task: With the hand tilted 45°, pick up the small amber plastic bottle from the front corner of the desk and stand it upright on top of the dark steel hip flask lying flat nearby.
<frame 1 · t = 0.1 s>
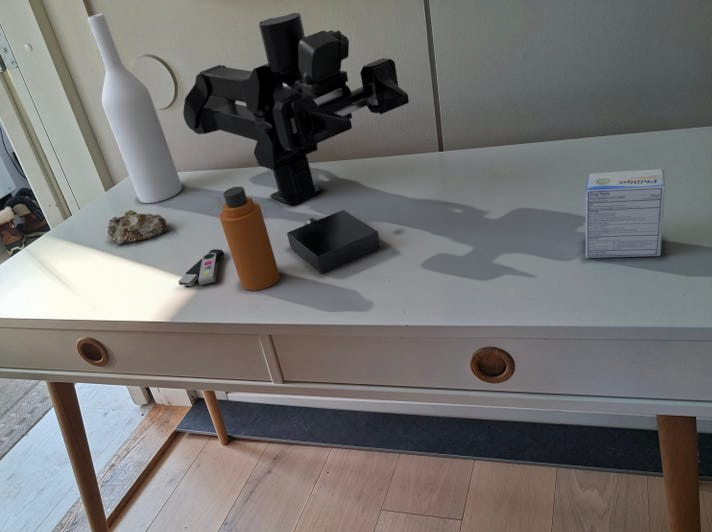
hand: (379, 111, 86), 17 cm above the table, tool horizontal, fingers open, 9 cm apart
medicine box: (622, 250, 81), on the table
usb flash drive: (211, 272, 98), on the table
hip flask: (334, 249, 96), on the table
amber bottle: (260, 280, 93), on the table
mineral rock: (139, 234, 114), on the table
bottle: (161, 194, 128), on the table
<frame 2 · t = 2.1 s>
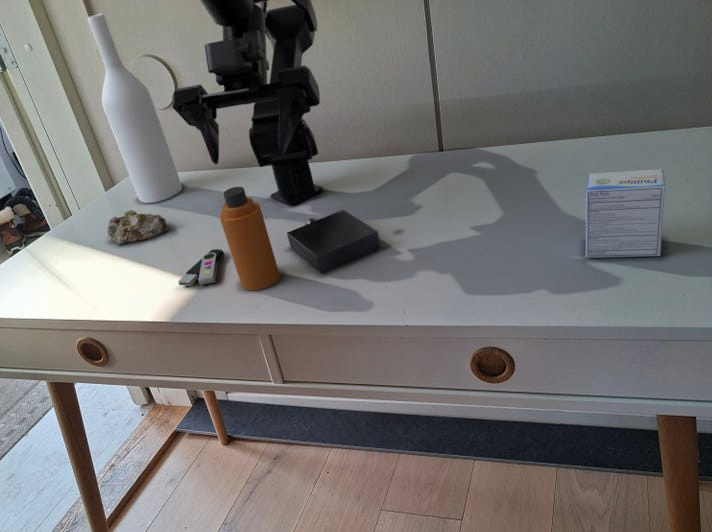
hand: (247, 157, 91), 14 cm above the table, tool tilted 45°, fingers open, 9 cm apart
nothing on the table moved.
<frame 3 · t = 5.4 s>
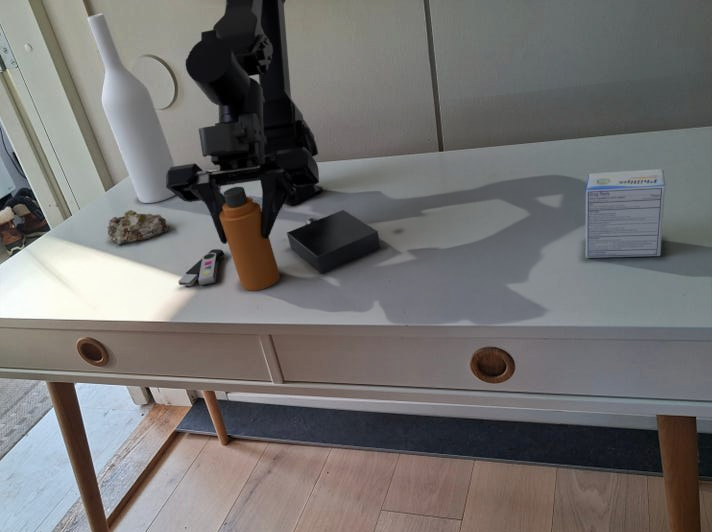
hand: (244, 240, 88), 7 cm above the table, tool tilted 45°, fingers closed on amber bottle, 5 cm apart
amber bottle: (260, 280, 93), on the table, touching gripper
everything else where it was.
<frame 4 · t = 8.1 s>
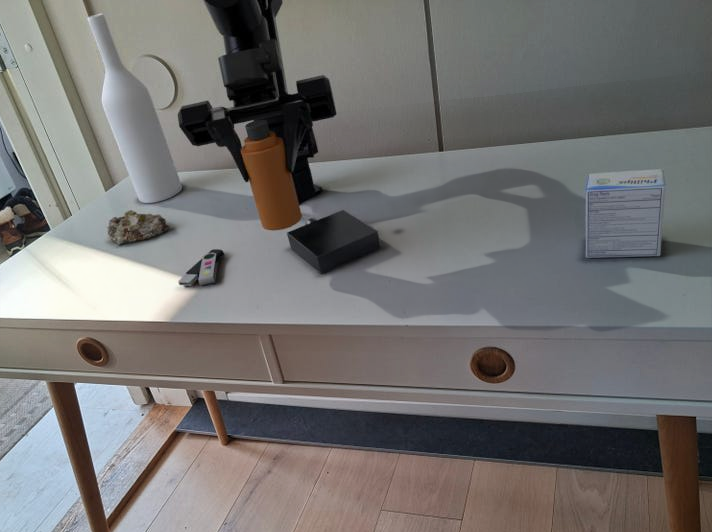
hand: (268, 176, 85), 13 cm above the table, tool tilted 45°, fingers closed on amber bottle, 5 cm apart
amber bottle: (282, 220, 90), point 7 cm above the table, touching gripper
everything else where it was.
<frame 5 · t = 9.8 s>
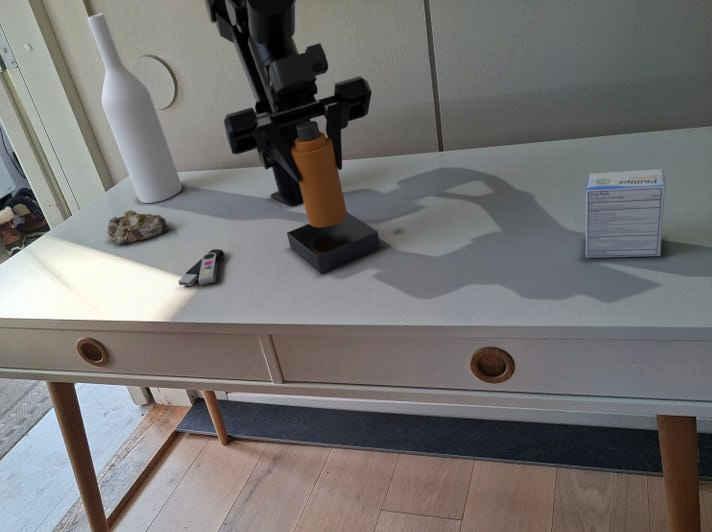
hand: (319, 174, 88), 11 cm above the table, tool tilted 45°, fingers closed on amber bottle, 5 cm apart
amber bottle: (327, 218, 93), point 5 cm above the table, touching gripper
everything else where it was.
when the fingers open (9 cm above the table, at t = 10.9 s): amber bottle stays where it is, resting on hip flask.
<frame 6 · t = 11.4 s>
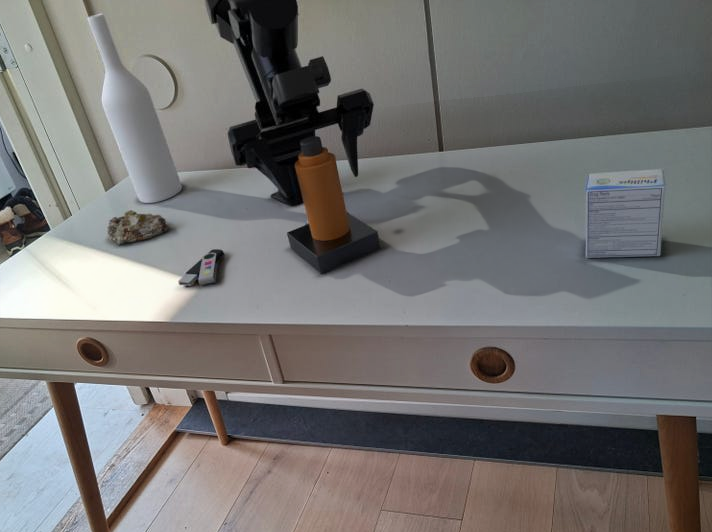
hand: (322, 185, 89), 10 cm above the table, tool tilted 45°, fingers open, 9 cm apart
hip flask: (334, 249, 96), on the table, touching amber bottle
amber bottle: (330, 231, 94), point 3 cm above the table, touching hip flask
everything else where it was.
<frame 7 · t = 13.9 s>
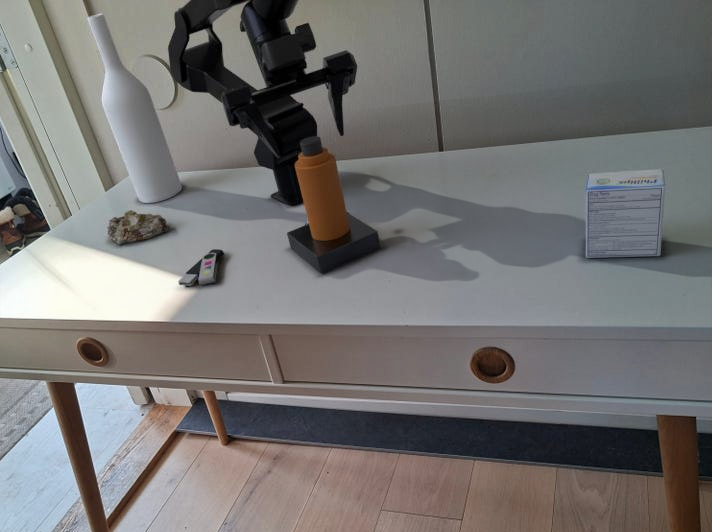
hand: (310, 145, 96), 12 cm above the table, tool tilted 40°, fingers open, 9 cm apart
nothing on the table moved.
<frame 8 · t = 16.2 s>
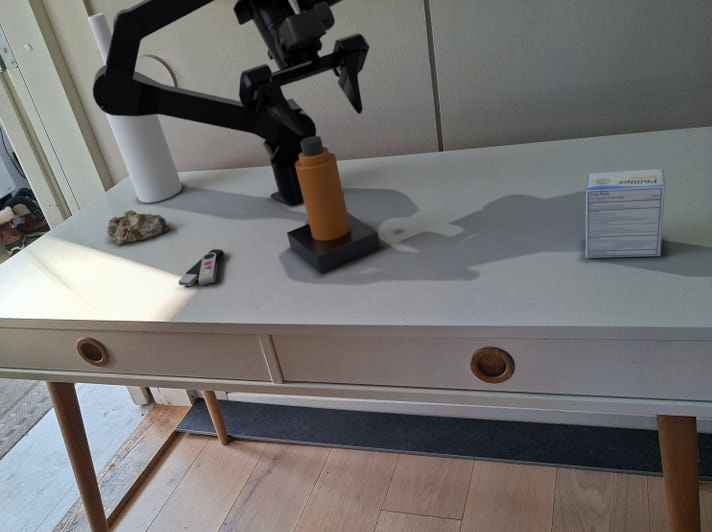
hand: (331, 122, 96), 14 cm above the table, tool tilted 45°, fingers open, 9 cm apart
nothing on the table moved.
at the end: amber bottle inside the target area on the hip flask (0.1 cm from its centre), point 2.6 cm above the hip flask's base; amber bottle tilted 0°; the gripper is holding nothing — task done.
